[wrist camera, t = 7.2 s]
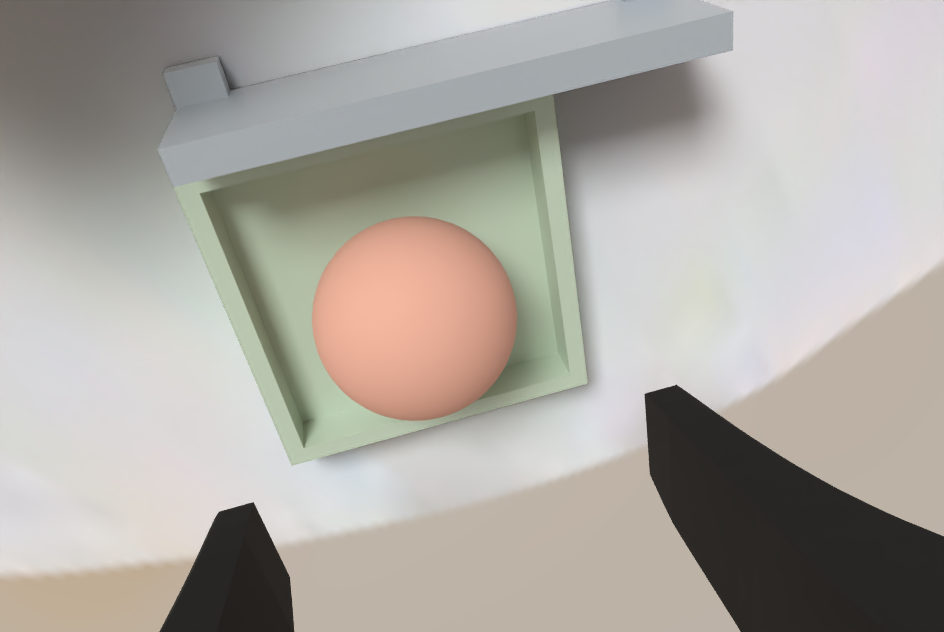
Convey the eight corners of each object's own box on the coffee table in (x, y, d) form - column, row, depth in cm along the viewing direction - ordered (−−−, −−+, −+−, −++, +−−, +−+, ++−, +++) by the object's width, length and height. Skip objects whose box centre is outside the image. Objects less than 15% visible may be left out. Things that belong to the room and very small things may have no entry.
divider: (661, -48, 18) (733, -31, 15) (665, 53, 19) (732, 87, 16) (165, 67, 17) (140, 109, 14) (204, 165, 18) (188, 223, 15)
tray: (533, 69, 19) (551, 85, 18) (571, 354, 24) (587, 383, 22) (178, 155, 18) (168, 178, 17) (291, 430, 23) (291, 465, 22)
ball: (473, 166, 19) (530, 247, 15) (499, 323, 22) (554, 429, 18) (283, 212, 19) (289, 310, 15) (334, 368, 22) (350, 488, 17)
